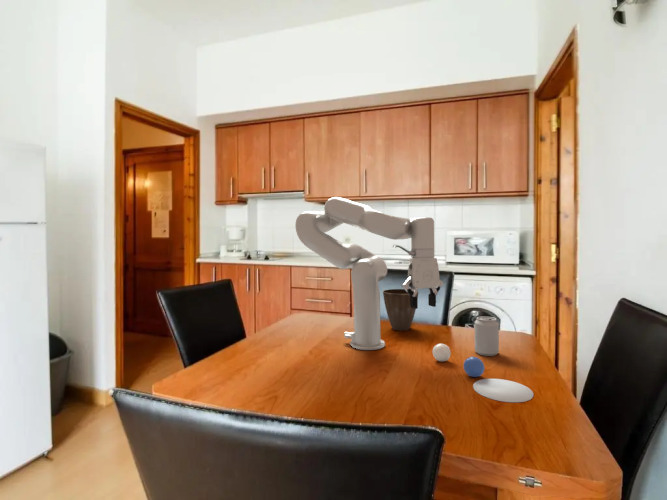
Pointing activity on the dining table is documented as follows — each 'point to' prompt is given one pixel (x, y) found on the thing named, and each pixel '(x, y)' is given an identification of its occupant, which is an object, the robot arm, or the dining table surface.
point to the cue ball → (441, 352)
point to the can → (486, 336)
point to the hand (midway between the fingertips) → (423, 306)
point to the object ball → (473, 366)
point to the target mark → (503, 390)
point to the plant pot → (399, 308)
